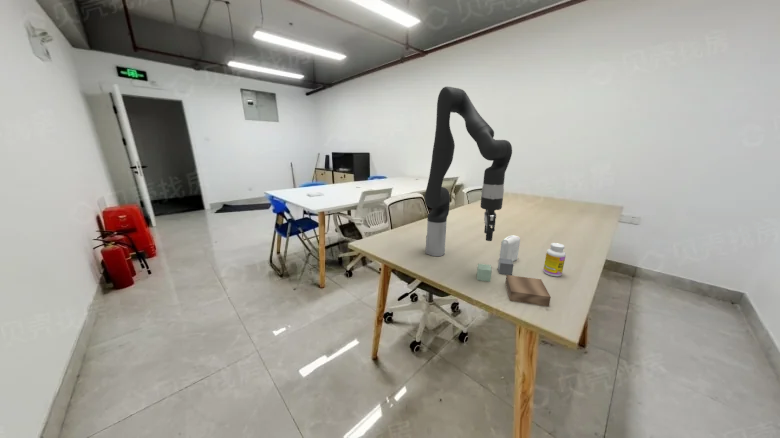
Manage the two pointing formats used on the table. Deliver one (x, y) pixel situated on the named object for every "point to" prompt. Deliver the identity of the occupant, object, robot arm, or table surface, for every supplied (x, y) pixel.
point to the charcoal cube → (505, 266)
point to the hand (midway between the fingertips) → (487, 236)
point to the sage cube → (484, 272)
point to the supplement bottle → (554, 260)
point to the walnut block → (527, 290)
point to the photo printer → (510, 248)
